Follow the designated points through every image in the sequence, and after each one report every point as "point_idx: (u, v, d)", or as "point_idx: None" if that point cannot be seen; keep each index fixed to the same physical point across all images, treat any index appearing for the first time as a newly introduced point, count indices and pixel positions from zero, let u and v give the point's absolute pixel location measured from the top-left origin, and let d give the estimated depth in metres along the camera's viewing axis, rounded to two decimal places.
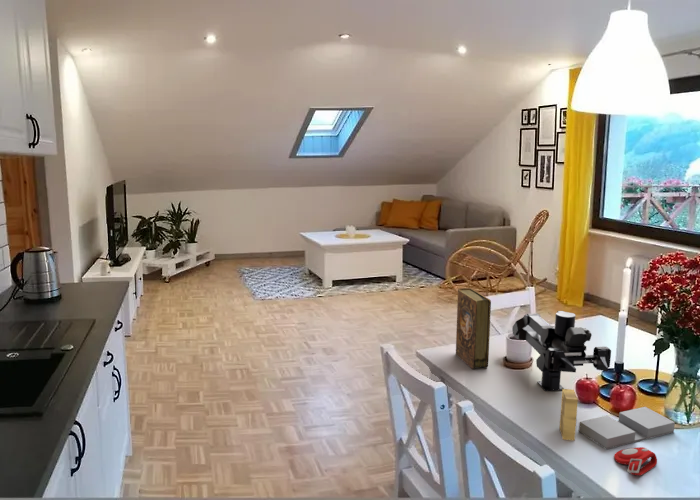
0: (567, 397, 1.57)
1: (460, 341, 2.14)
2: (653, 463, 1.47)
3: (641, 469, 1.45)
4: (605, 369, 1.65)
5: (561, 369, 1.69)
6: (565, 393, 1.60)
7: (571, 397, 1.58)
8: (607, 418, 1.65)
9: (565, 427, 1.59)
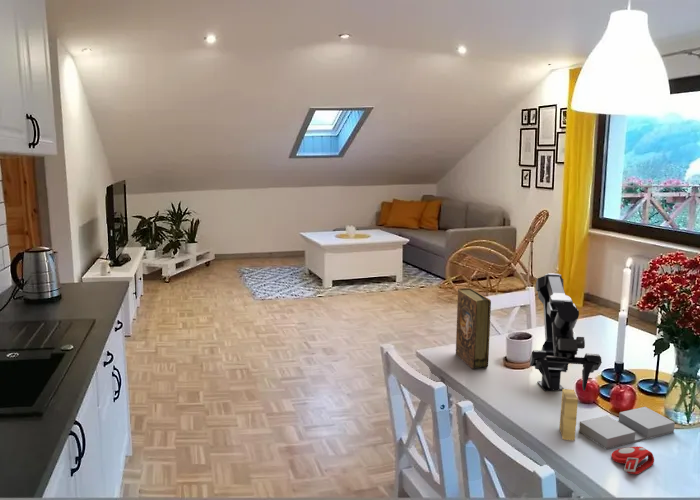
0: (567, 397, 1.57)
1: (460, 341, 2.14)
2: (650, 462, 1.47)
3: (638, 468, 1.45)
4: (583, 388, 1.64)
5: (541, 372, 1.69)
6: (565, 393, 1.60)
7: (572, 397, 1.58)
8: (607, 418, 1.65)
9: (565, 427, 1.59)
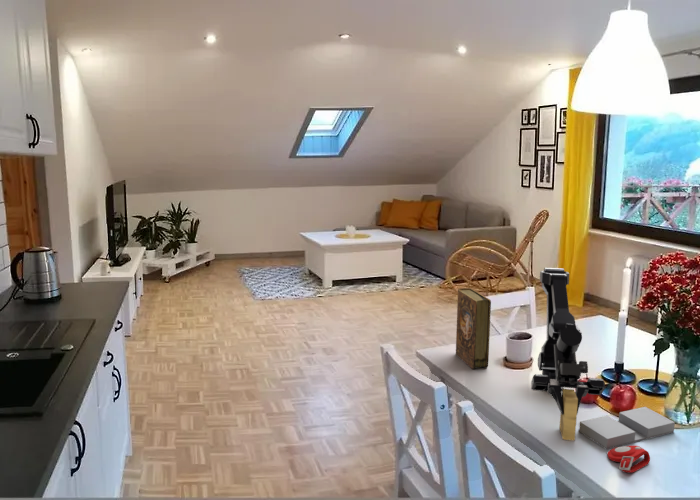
0: (567, 397, 1.57)
1: (460, 341, 2.14)
2: (646, 461, 1.48)
3: (633, 467, 1.46)
4: None
5: (554, 398, 1.64)
6: (565, 393, 1.60)
7: (572, 397, 1.58)
8: (607, 418, 1.65)
9: (565, 427, 1.59)
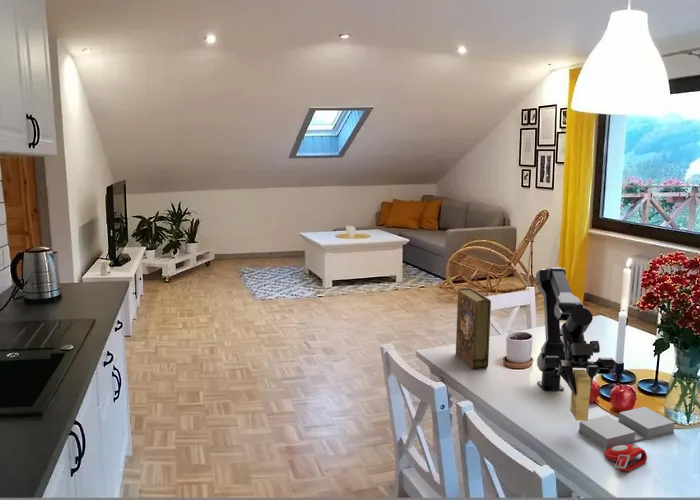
0: (580, 378, 1.56)
1: (460, 341, 2.14)
2: (643, 460, 1.48)
3: (630, 465, 1.46)
4: None
5: (565, 379, 1.62)
6: (577, 373, 1.58)
7: (585, 377, 1.56)
8: (607, 418, 1.65)
9: (578, 408, 1.57)
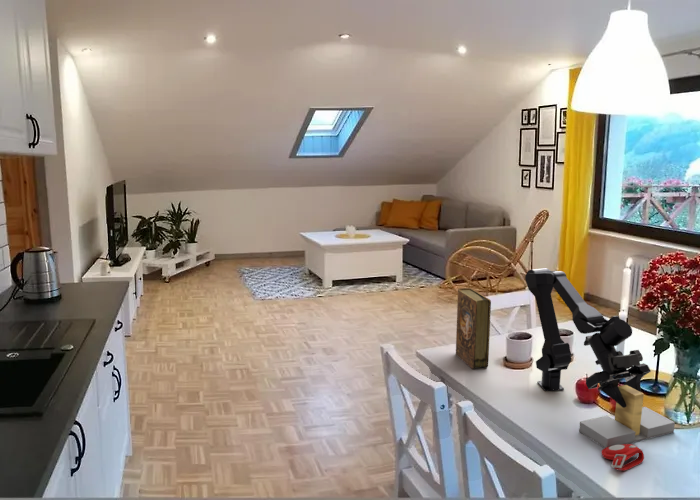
0: (635, 394, 1.58)
1: (460, 341, 2.14)
2: (640, 460, 1.48)
3: (626, 465, 1.47)
4: None
5: (607, 393, 1.63)
6: (627, 390, 1.60)
7: (637, 393, 1.59)
8: (607, 418, 1.65)
9: (633, 424, 1.59)
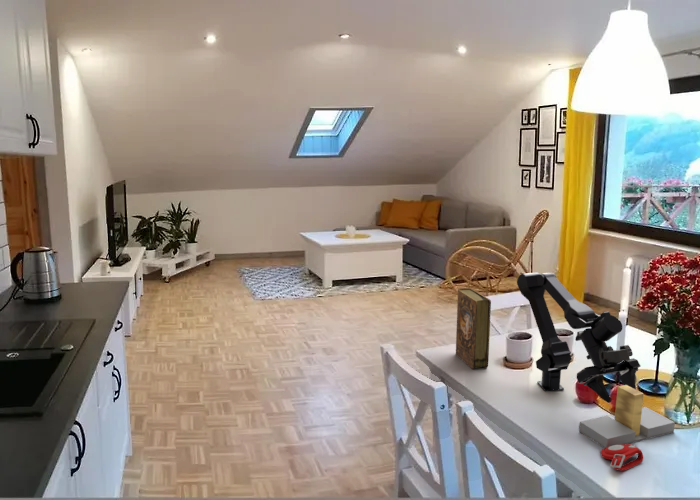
0: (635, 394, 1.58)
1: (460, 341, 2.14)
2: (639, 460, 1.48)
3: (625, 465, 1.47)
4: None
5: (593, 388, 1.65)
6: (626, 390, 1.60)
7: (637, 392, 1.59)
8: (607, 418, 1.65)
9: (633, 423, 1.59)
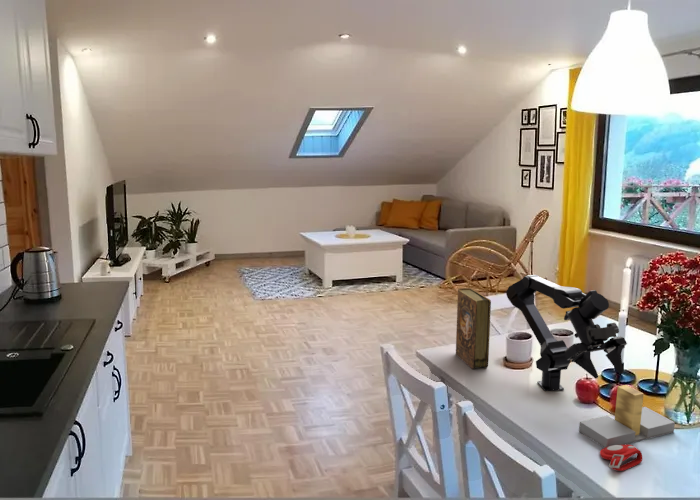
0: (635, 394, 1.58)
1: (460, 341, 2.14)
2: (638, 460, 1.48)
3: (624, 465, 1.47)
4: (619, 371, 1.70)
5: (580, 365, 1.69)
6: (626, 390, 1.60)
7: (637, 392, 1.59)
8: (607, 418, 1.65)
9: (633, 423, 1.59)
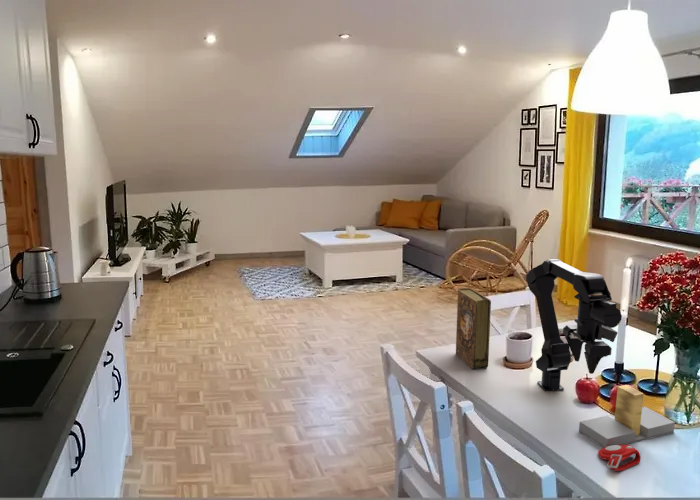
0: (635, 394, 1.58)
1: (460, 341, 2.14)
2: (636, 460, 1.48)
3: (622, 465, 1.46)
4: (576, 359, 1.79)
5: (589, 359, 1.68)
6: (626, 390, 1.60)
7: (637, 392, 1.59)
8: (607, 418, 1.65)
9: (633, 423, 1.59)
